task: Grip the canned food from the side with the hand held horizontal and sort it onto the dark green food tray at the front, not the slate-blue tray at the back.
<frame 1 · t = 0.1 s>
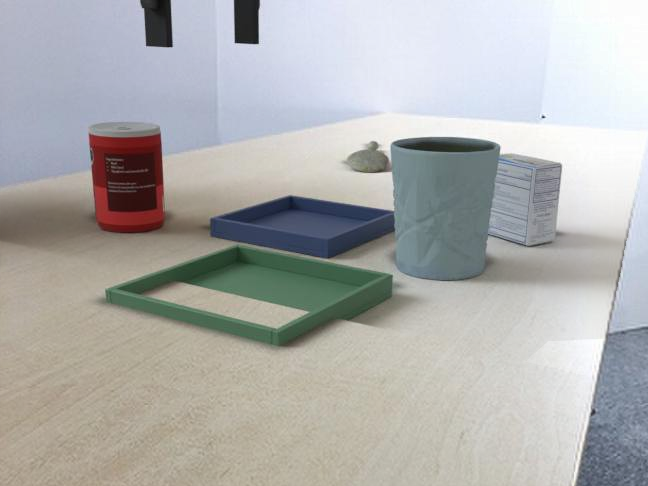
hand: (205, 45, 86), 20 cm above the table, tool pointing down, fingers open, 13 cm apart
green tray: (254, 303, 72), on the table
knobbed grey dome: (370, 161, 141), on the table
medicine box: (515, 238, 95), on the table
embossed blue cup: (437, 269, 84), on the table
blue tray: (306, 232, 95), on the table
canned food: (131, 226, 97), on the table
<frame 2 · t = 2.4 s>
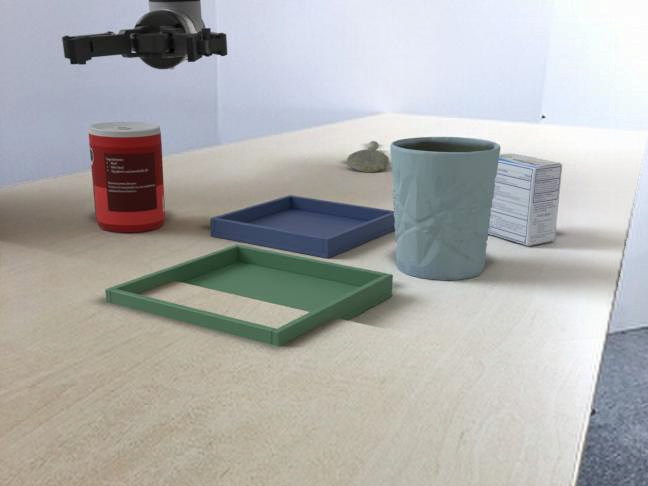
hand: (130, 50, 98), 18 cm above the table, tool horizontal, fingers open, 13 cm apart
nothing on the table moved.
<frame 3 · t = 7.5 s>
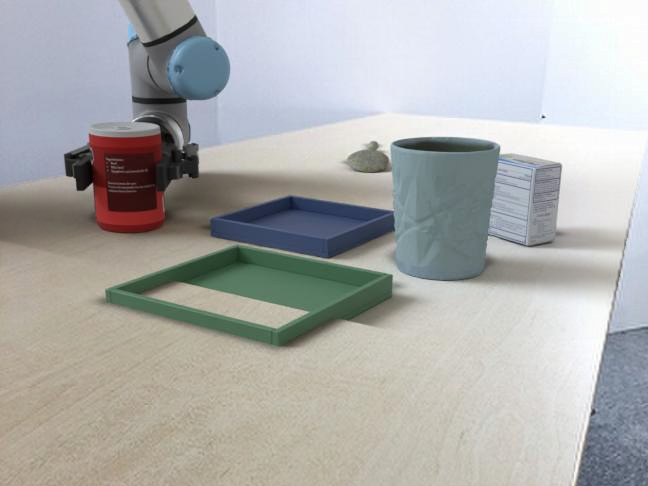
hand: (119, 178, 90), 6 cm above the table, tool horizontal, fingers closed on canned food, 8 cm apart
canned food: (131, 226, 97), on the table, touching gripper
everything else where it was.
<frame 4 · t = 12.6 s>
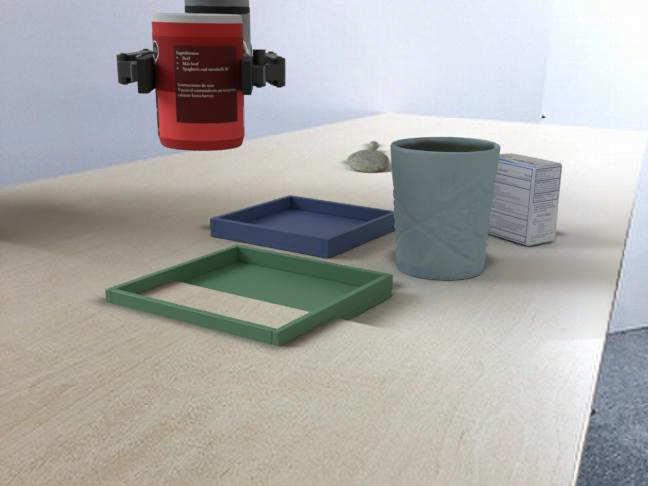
hand: (194, 77, 70), 18 cm above the table, tool horizontal, fingers closed on canned food, 8 cm apart
canned food: (201, 146, 77), point 12 cm above the table, touching gripper
everything else where it was.
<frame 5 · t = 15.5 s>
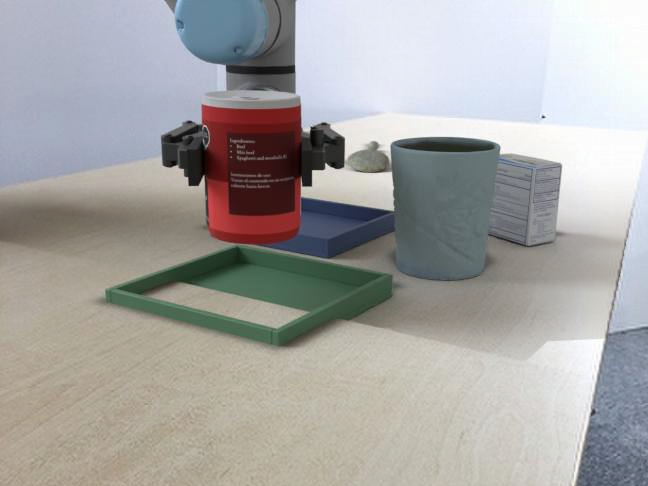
hand: (250, 168, 63), 12 cm above the table, tool horizontal, fingers closed on canned food, 8 cm apart
canned food: (254, 235, 70), point 6 cm above the table, touching gripper
everything else where it was.
when the fingers open (7 cm above the table, at t = 17.6 s): canned food stays where it is, resting on green tray.
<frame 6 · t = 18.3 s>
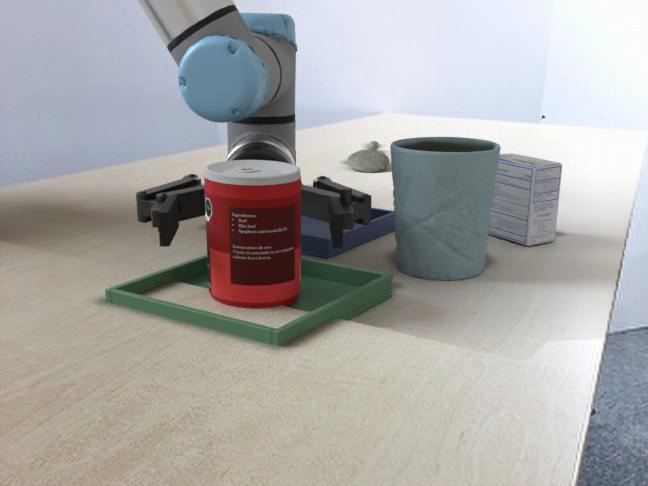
hand: (251, 230, 67), 7 cm above the table, tool horizontal, fingers open, 13 cm apart
canned food: (254, 300, 72), resting on green tray
everything else where it was.
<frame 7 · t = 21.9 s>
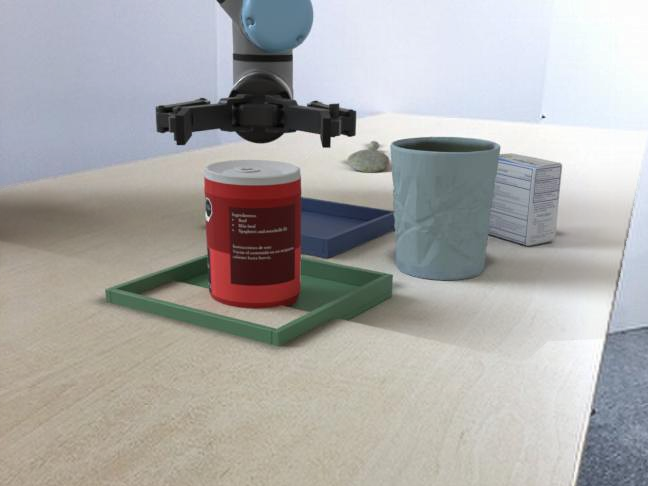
hand: (253, 131, 79), 13 cm above the table, tool horizontal, fingers open, 13 cm apart
nothing on the table moved.
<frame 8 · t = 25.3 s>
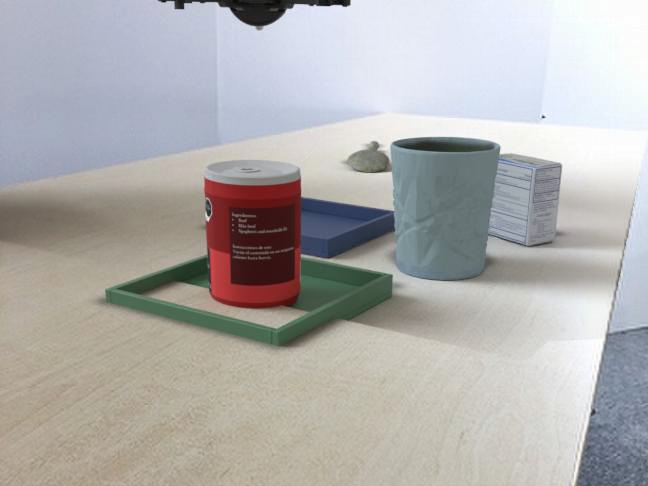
nothing on the table moved.
at the end: canned food inside the target area in the green tray (0.0 cm from its centre), point 0.3 cm above the green tray's base; canned food tilted 0°; the gripper is holding nothing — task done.
